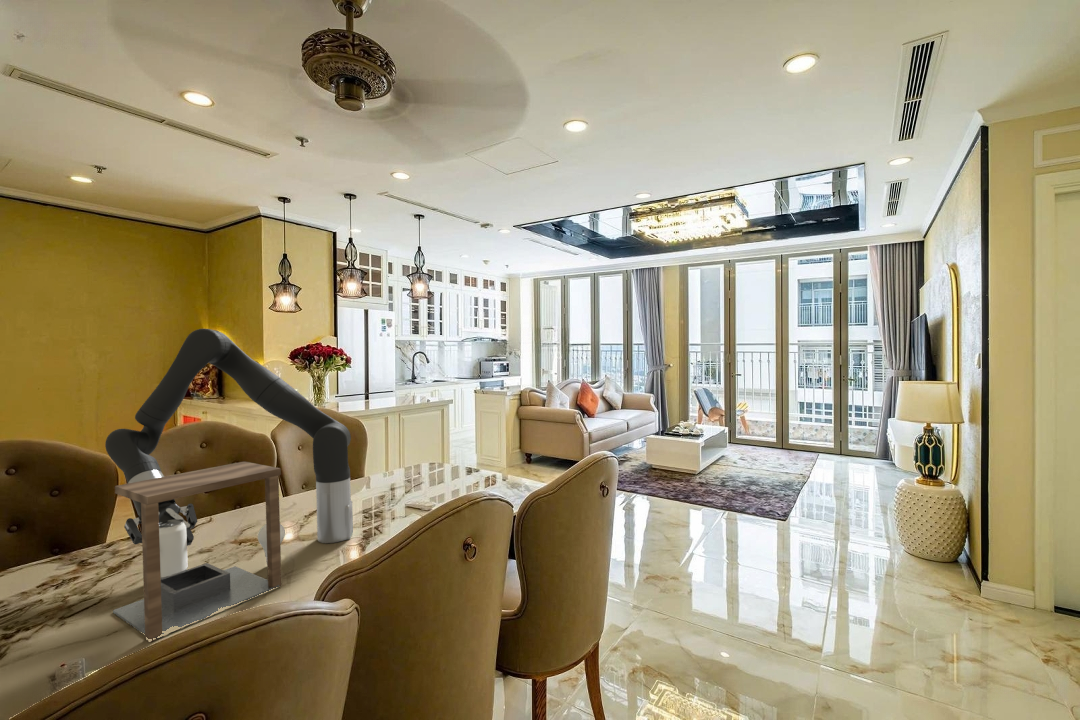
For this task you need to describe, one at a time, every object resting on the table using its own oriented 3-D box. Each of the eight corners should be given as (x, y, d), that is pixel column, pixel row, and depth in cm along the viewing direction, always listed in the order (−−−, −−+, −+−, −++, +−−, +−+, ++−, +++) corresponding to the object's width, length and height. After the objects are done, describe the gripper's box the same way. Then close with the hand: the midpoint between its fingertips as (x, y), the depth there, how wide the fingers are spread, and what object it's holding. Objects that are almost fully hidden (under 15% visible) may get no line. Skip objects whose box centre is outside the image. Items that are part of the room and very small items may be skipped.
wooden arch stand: (119, 620, 98) (114, 486, 98) (247, 572, 119) (244, 461, 119) (151, 644, 89) (147, 496, 89) (284, 587, 111) (280, 468, 110)
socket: (113, 612, 101) (112, 594, 101) (235, 568, 121) (234, 552, 121) (152, 641, 90) (152, 620, 90) (279, 587, 111) (278, 570, 111)
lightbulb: (291, 562, 124) (290, 519, 124) (271, 572, 119) (270, 528, 119) (273, 559, 126) (272, 517, 126) (252, 569, 121) (251, 525, 120)
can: (169, 579, 113) (167, 528, 113) (147, 577, 114) (145, 527, 114) (194, 567, 119) (192, 519, 119) (173, 565, 120) (171, 518, 120)
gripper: (118, 491, 114) (140, 550, 108) (188, 477, 126) (211, 529, 120) (111, 510, 117) (132, 569, 111) (180, 494, 129) (202, 546, 123)
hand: (173, 548), depth 116 cm, fingers closed on can, 6 cm apart
